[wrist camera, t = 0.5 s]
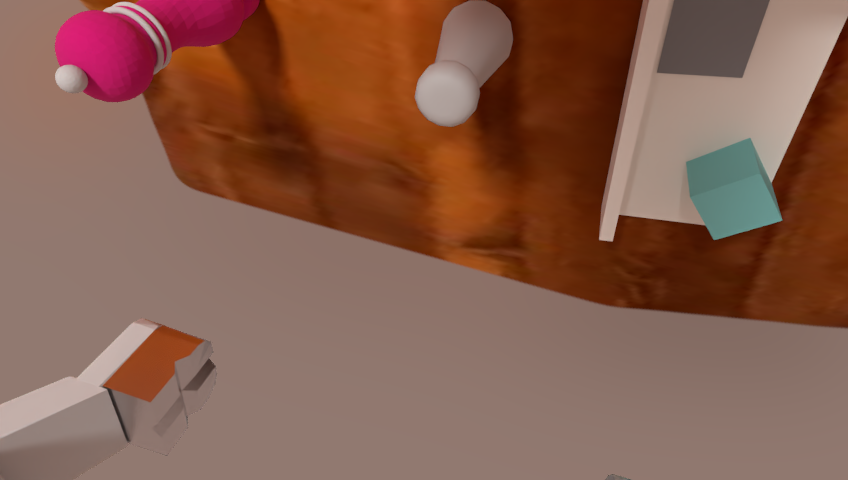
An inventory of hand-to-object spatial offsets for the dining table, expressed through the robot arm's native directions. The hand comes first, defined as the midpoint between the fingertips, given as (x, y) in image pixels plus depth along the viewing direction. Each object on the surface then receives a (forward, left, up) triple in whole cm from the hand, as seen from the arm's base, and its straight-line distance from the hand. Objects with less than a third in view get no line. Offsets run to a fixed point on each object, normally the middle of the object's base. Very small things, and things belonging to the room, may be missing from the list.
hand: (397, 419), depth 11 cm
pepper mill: (+4, -29, -39) cm, 49 cm away
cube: (+18, +15, -38) cm, 45 cm away
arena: (+12, +12, -39) cm, 43 cm away
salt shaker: (+7, -6, -39) cm, 40 cm away
